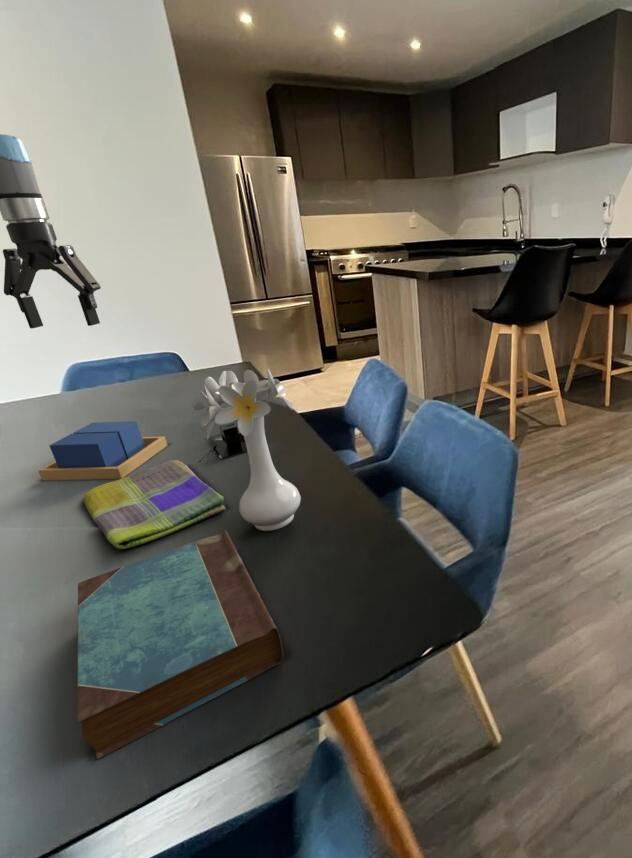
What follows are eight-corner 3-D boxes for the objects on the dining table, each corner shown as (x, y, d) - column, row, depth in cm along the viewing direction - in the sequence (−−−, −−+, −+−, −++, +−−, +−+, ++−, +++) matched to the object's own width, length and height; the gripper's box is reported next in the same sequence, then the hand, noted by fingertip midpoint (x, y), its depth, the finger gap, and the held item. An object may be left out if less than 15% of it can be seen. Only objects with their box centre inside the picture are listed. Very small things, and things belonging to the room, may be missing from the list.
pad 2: (84, 463, 103) (72, 432, 100) (103, 451, 108) (92, 422, 105) (129, 462, 102) (118, 431, 99) (146, 450, 107) (136, 420, 105)
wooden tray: (43, 483, 97) (37, 470, 96) (98, 449, 111) (94, 438, 110) (122, 481, 96) (118, 468, 94) (168, 447, 109) (164, 436, 108)
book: (286, 661, 53) (277, 626, 51) (93, 762, 44) (73, 724, 42) (235, 558, 71) (227, 529, 69) (89, 615, 62) (75, 583, 60)
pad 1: (62, 477, 97) (49, 445, 95) (82, 464, 102) (71, 433, 100) (109, 476, 97) (97, 443, 94) (128, 463, 102) (117, 432, 99)
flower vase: (279, 486, 90) (250, 353, 80) (336, 522, 78) (309, 370, 68) (207, 517, 81) (164, 372, 72) (257, 563, 69) (214, 396, 60)
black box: (257, 449, 106) (252, 429, 104) (221, 460, 102) (216, 439, 100) (241, 432, 115) (236, 414, 113) (208, 441, 111) (203, 422, 110)
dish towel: (112, 559, 72) (106, 544, 71) (83, 502, 89) (77, 488, 88) (231, 510, 83) (227, 496, 82) (185, 467, 100) (181, 455, 99)
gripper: (98, 218, 103) (129, 320, 111) (-11, 225, 105) (27, 324, 113) (70, 218, 96) (106, 326, 104) (-46, 226, 98) (-2, 331, 106)
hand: (65, 326), depth 108 cm, fingers open, 13 cm apart
